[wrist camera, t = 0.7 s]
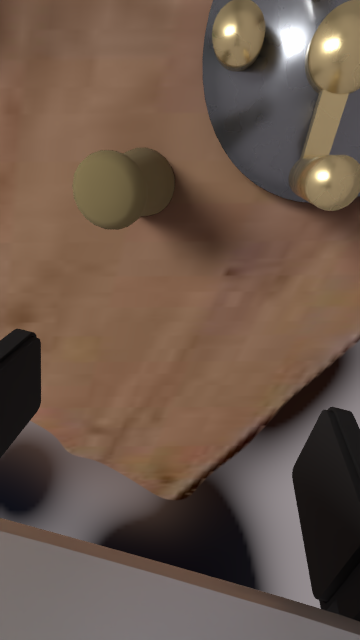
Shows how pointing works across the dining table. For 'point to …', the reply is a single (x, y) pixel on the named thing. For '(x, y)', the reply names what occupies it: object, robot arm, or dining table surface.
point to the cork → (122, 186)
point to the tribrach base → (268, 87)
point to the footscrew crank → (330, 111)
